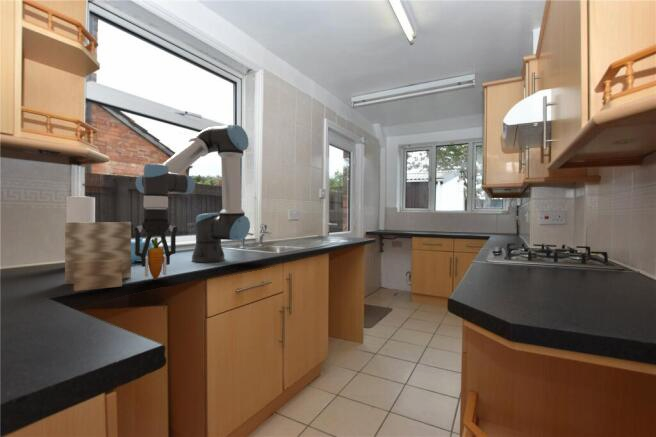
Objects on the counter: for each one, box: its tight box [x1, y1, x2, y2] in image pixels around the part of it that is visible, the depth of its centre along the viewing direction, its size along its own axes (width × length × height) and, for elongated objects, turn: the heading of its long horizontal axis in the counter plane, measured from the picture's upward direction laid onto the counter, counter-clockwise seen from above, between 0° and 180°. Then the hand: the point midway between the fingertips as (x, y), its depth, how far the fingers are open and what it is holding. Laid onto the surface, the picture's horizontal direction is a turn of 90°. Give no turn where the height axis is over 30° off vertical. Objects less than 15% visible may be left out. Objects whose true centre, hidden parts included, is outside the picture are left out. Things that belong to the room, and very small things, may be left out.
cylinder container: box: [66, 195, 96, 222], centre depth 132 cm, size 9×9×30 cm
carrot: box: [148, 237, 165, 281], centre depth 109 cm, size 5×5×15 cm
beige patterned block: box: [64, 221, 132, 292], centre depth 102 cm, size 18×14×20 cm
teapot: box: [131, 237, 154, 265], centre depth 146 cm, size 16×18×11 cm
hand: (155, 274), depth 109 cm, fingers closed on carrot, 5 cm apart
